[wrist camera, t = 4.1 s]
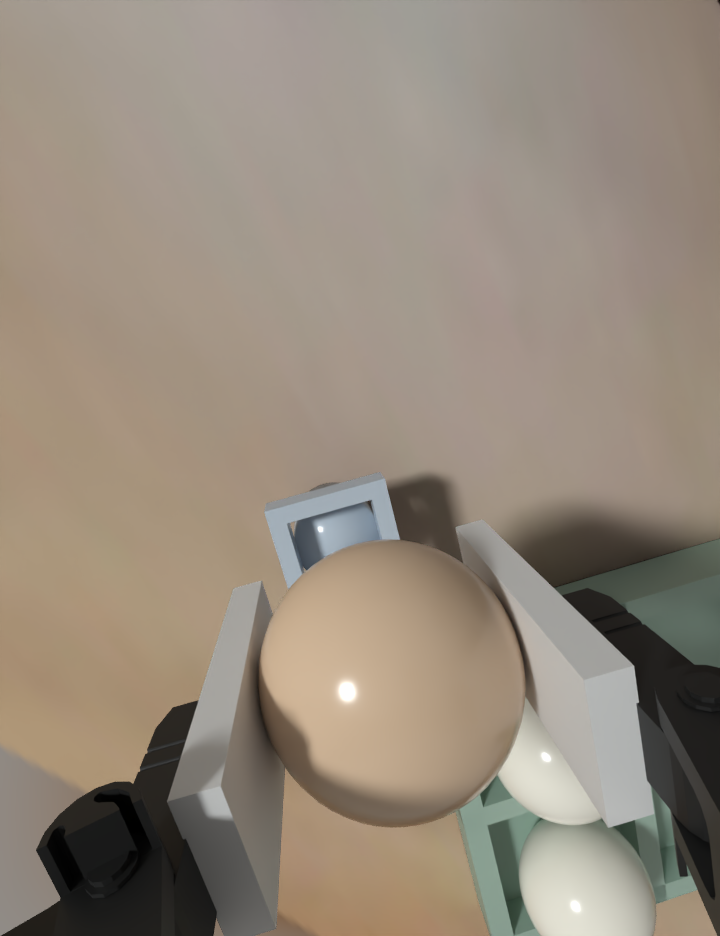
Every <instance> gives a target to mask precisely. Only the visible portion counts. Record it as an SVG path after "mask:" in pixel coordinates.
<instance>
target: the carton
mask: <svg viewBox="0 0 720 936" xmlns="http://www.w3.org/2000/svg"><path fill="white" fill-rule="evenodd" d="M585 588H589V589H592V590H594V591H597V592H600V593H602V594H605V595H608V596H610V597H612V598H613V599H614V600H616V601H617V602H618V603H619V604H620V605H622V606H623V607H624V608H625V609H627V611H628V613H632V614H633V615H634V616H635V617H636V618H638V619H639V620H640V621H641V623H642V624H645V625H646V626H648V627H649V628H650V629H651V630H653V631H654V632H655V633H656V634H657V635H659V636H660V637H661V638H662V639H664V640H665V641H666V642H667V643H669V644H670V645H671V646H672V647H673V648H675V649H676V650H677V651H678V652H680V653H681V654H682V655H683V656H685V657H686V658H687V659H688V660H690V661H691V662H692V663H693V664H694V665H709V666H714V667H718V668H720V539H717V540H713V541H710V542H707V543H703V544H700V545H697V546H693V547H690V548H687V549H683V550H680V551H676V552H673V553H670V554H666V555H663V556H660V557H656V558H653V559H650V560H646V561H643V562H639V563H636V564H633V565H629V566H626V567H623V568H619V569H616V570H613V571H609V572H606V573H602V574H599V575H596V576H592V577H589V578H586V579H582V580H579V581H576V582H572V583H569V584H566V585H562V586H559V587H555V588H554V589H555V590H556V591H557V592H558V593H559V594H560V595H564V594H568V593H571V592H575V591H578V590H582V589H585ZM650 786H651V785H650ZM651 793H652V801H653V808H654V814H653V815H650V816H646V817H643V818H640V819H636V820H633V821H630V822H626V823H623V824H620V825H617V826H613V827H614V828H615V829H616V830H617V831H619V832H620V833H621V834H622V835H623V836H624V837H625V838H626V839H627V840H628V842H629V843H630V844H631V845H632V846H633V848H634V849H635V850H636V852H637V854H638V855H639V857H640V858H641V860H642V862H643V863H644V866H645V868H646V870H647V872H648V875H649V877H650V880H651V883H652V886H653V890H654V895H655V900H656V904H657V903H660V902H663V901H666V900H669V899H672V898H675V897H678V896H681V895H684V894H687V893H690V892H693V891H695V890H697V887H696V885H695V883H694V880H693V878H692V876H691V873H690V871H689V869H688V867H687V872H688V877H680V875H679V870H678V865H677V860H676V852H675V844H674V836H673V829H672V821H671V813H670V809H669V808H668V806H667V805H666V804H665V803H664V801H663V800H662V799H661V798H660V796H659V795H658V794H657V792H656V791H655V790H654V789H653V787H652V786H651ZM456 815H457V819H458V823H459V827H460V831H461V835H462V838H463V842H464V846H465V850H466V854H467V858H468V862H469V866H470V870H471V874H472V878H473V881H474V885H475V889H476V893H477V897H478V901H479V904H480V907H481V910H482V913H483V916H484V919H485V922H486V925H487V928H488V931H489V934H490V936H540V934H539V933H538V931H537V930H536V928H535V927H534V925H533V923H532V921H531V919H530V917H529V915H528V913H527V910H526V907H525V905H524V902H523V898H522V894H521V890H520V883H519V860H520V855H521V850H522V847H523V844H524V842H525V840H526V838H527V836H528V834H529V832H530V831H531V830H532V829H533V827H534V826H535V825H536V824H537V823H538V822H539V821H541V820H542V819H543V818H540V817H538V816H537V815H535V814H533V813H531V812H530V811H528V810H527V809H526V808H524V807H523V806H522V805H521V804H520V803H518V802H517V801H516V800H515V799H514V798H513V797H512V796H511V795H510V793H509V792H508V791H507V790H506V788H505V787H504V785H503V784H502V782H501V781H500V779H499V777H498V775H497V776H496V777H495V778H494V779H493V781H492V782H491V783H490V784H489V786H488V787H487V788H486V789H485V790H484V791H483V792H482V793H481V794H480V795H479V796H477V797H476V798H475V799H474V800H472V801H471V802H470V803H468V804H467V805H465V806H464V807H462V808H461V809H459V810H457V811H456ZM601 820H603V819H601ZM603 821H604V820H603Z"/></svg>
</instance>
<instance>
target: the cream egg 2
mask: <svg viewBox="0 0 720 936" xmlns="http://www.w3.org/2000/svg"><path fill="white" fill-rule="evenodd" d="M519 883H520V890H521V894H522V898H523V902H524V905H525V907H526V910H527V913H528V915H529V917H530V919H531V921H532V923H533V925H534V927H535V928H536V930H537V931H538V933H539V934H540V936H653V935H654V931H655V925H656V900H655V895H654V890H653V886H652V883H651V880H650V877H649V875H648V872H647V870H646V868H645V866H644V863H643V862H642V860H641V858H640V857H639V855H638V854H637V852H636V850H635V849H634V848H633V846H632V845H631V844H630V843H629V842H628V840H627V839H626V838H625V837H624V836H623V835H622V834H621V833H620V832H619V831H617V830H616V829H615V828H614V827H610V828H608V827H607V825H606V824H605V822H604V821H603V820H601V819H600V820H597V821H595V822H592V823H588V824H582V825H563V824H558V823H554V822H550V821H548V820H545V819H542V820H541V821H539V822H538V823H537V824H536V825H535V826H534V827H533V829H532V830H531V831H530V832H529V834H528V836H527V838H526V840H525V842H524V844H523V847H522V850H521V855H520V860H519Z"/></svg>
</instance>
